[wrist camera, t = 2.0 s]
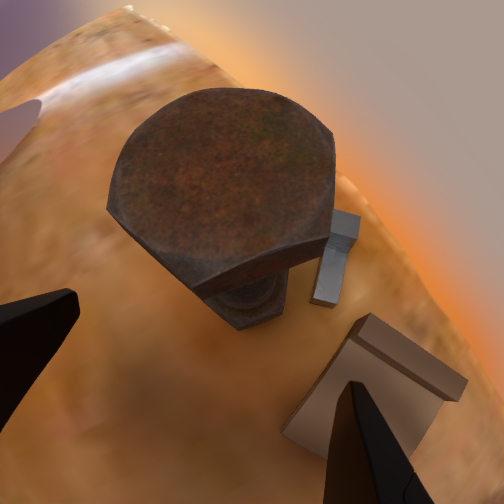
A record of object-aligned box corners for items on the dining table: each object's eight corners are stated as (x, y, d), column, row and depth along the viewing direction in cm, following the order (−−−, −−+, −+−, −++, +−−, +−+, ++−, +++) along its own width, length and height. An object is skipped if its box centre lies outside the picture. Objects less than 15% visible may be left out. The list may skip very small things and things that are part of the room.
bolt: (274, 254, 21) (290, 68, 8) (303, 319, 20) (393, 205, 6) (197, 282, 21) (94, 130, 7) (221, 351, 19) (115, 308, 5)
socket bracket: (332, 308, 20) (347, 294, 16) (178, 266, 21) (161, 244, 18) (345, 241, 22) (360, 216, 18) (202, 206, 23) (191, 176, 19)
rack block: (379, 484, 15) (395, 498, 12) (279, 430, 17) (282, 440, 14) (445, 380, 17) (468, 380, 15) (356, 320, 19) (370, 312, 17)
